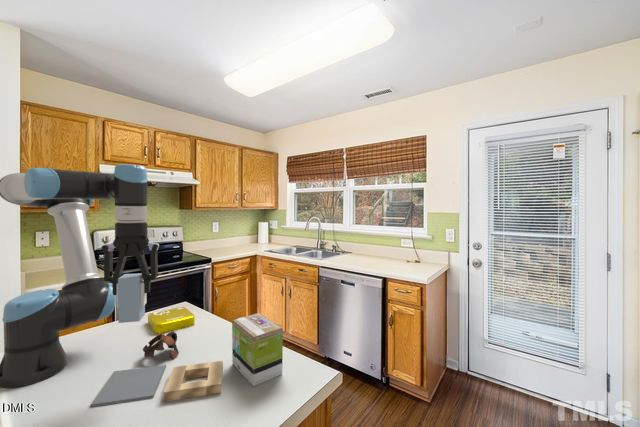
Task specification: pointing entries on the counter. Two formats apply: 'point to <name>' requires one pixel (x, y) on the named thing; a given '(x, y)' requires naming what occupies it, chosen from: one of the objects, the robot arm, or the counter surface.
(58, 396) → the counter surface
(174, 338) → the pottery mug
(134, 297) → the part
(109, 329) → the counter surface
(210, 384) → the holder
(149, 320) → the element tile
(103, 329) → the counter surface
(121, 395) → the plate
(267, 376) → the tea box
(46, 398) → the counter surface
